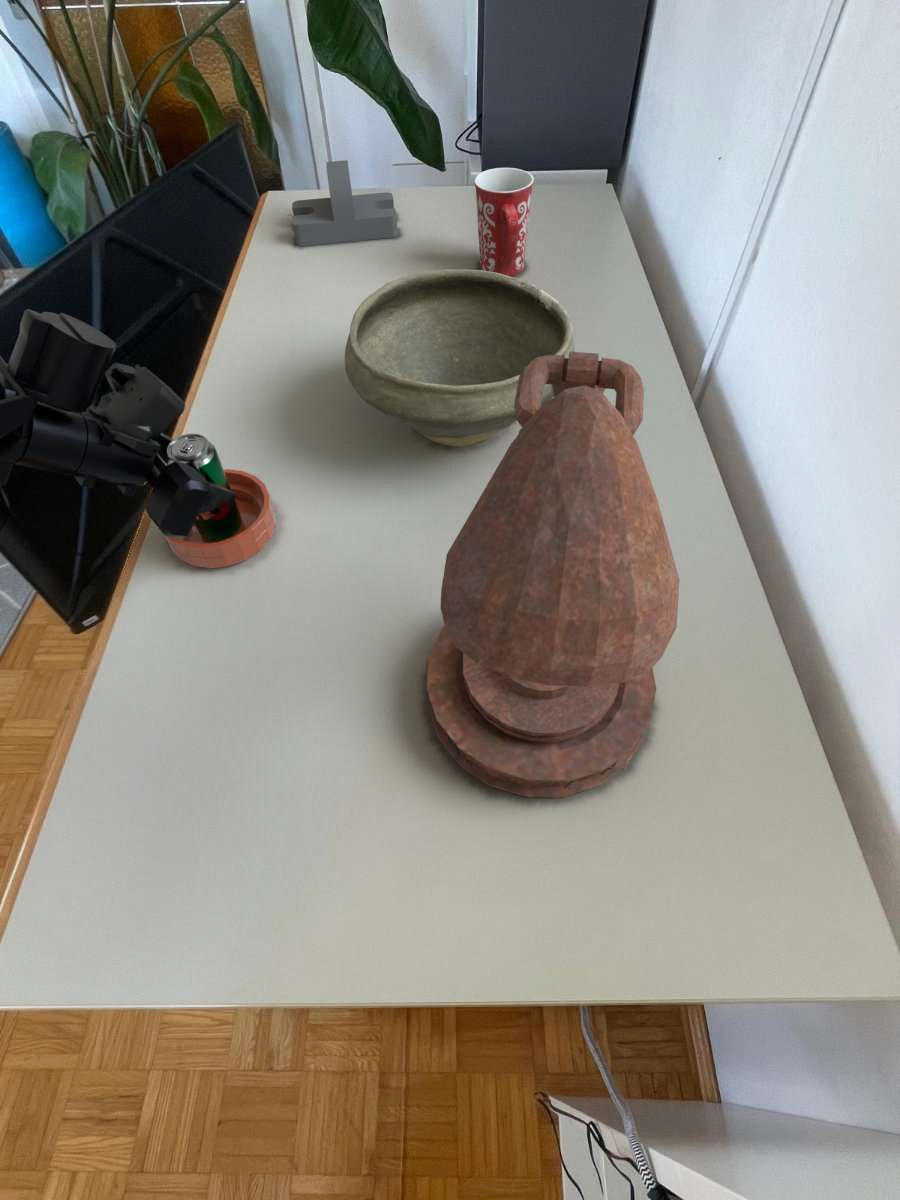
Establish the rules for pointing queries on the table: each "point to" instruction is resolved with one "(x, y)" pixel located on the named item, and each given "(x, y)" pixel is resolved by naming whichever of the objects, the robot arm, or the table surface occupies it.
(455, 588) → the rusty bell weight
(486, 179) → the mug
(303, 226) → the bracket
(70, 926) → the table surface
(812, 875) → the table surface
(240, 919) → the table surface
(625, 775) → the table surface
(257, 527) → the dish
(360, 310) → the bowl
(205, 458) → the soda can
